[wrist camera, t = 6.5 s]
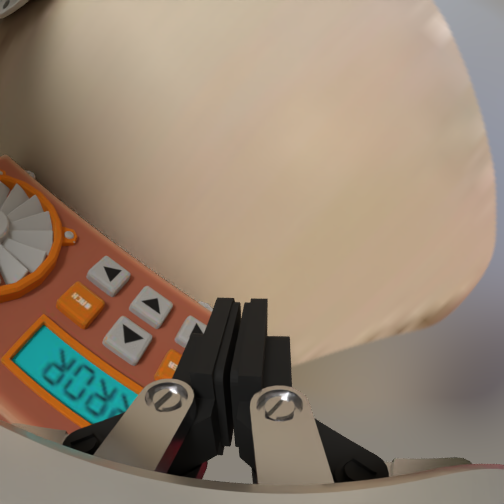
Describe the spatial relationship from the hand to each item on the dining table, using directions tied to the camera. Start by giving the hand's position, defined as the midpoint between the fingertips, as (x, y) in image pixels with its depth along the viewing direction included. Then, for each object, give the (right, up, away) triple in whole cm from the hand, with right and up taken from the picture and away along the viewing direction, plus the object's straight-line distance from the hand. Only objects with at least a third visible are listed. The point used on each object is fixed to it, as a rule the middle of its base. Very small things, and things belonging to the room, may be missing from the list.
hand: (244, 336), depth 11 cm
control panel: (-10, +3, +10) cm, 15 cm away
